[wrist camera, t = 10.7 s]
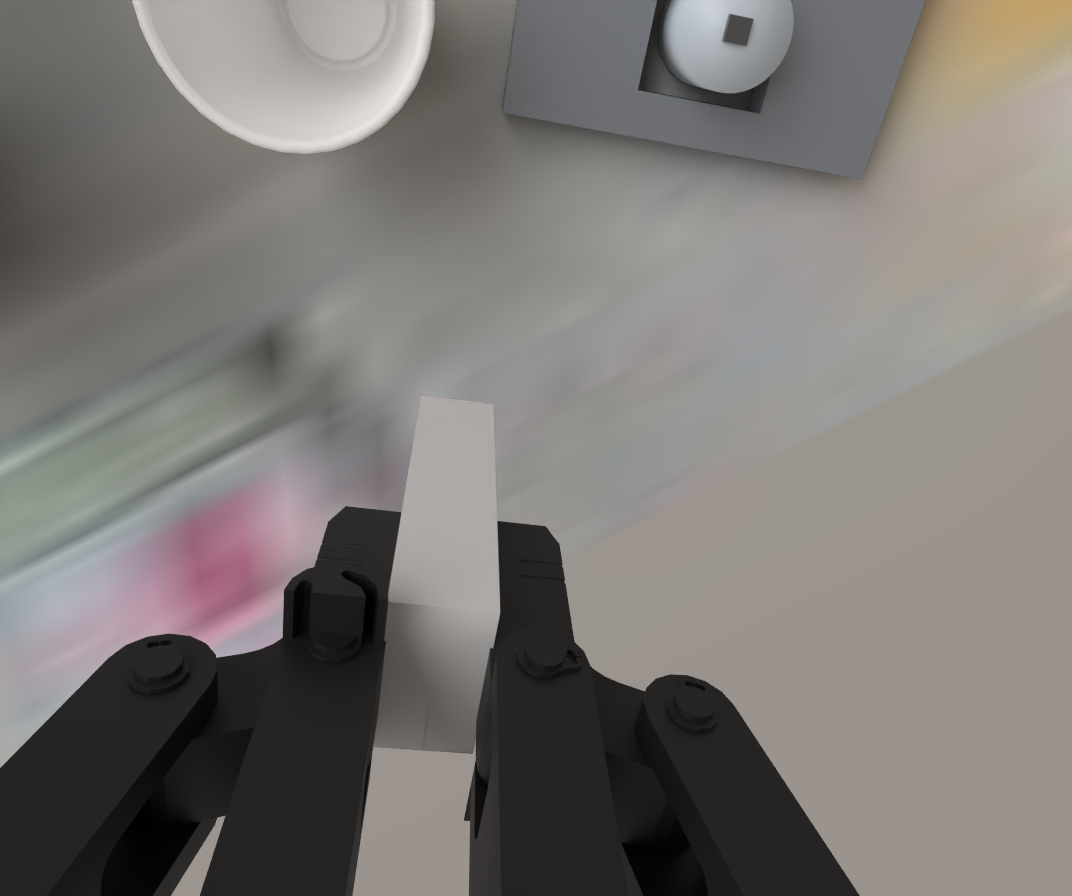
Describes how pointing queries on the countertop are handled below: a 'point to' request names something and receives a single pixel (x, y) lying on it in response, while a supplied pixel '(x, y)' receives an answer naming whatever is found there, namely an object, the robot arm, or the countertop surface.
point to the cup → (292, 64)
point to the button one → (725, 41)
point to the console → (757, 133)
